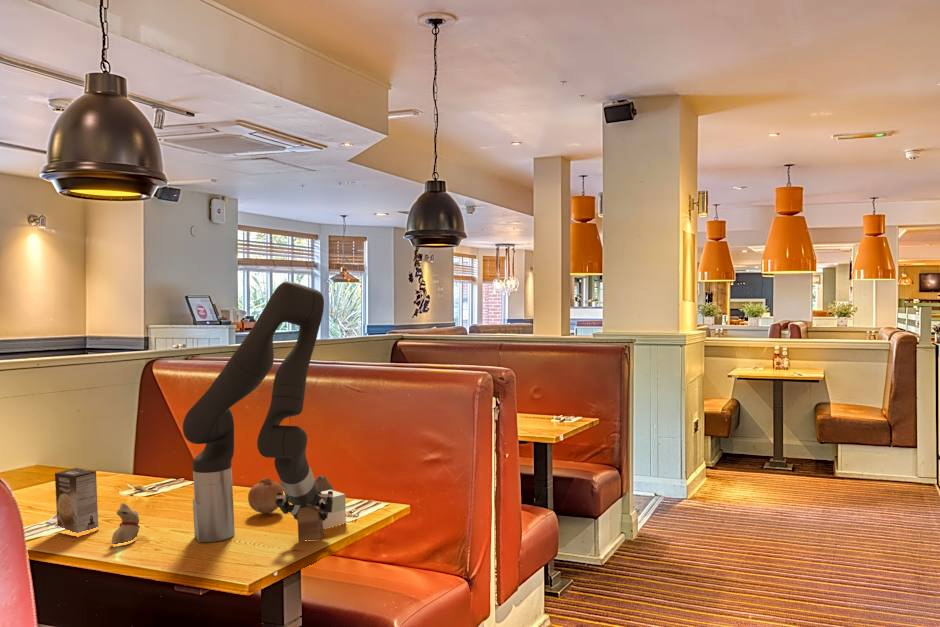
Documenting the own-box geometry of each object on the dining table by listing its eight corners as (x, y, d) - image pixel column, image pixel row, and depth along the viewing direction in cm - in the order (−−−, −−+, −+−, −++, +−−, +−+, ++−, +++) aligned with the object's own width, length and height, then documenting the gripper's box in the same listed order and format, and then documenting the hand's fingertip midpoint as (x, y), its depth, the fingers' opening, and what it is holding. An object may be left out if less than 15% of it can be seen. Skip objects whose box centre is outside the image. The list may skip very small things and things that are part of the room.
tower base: (323, 530, 200) (322, 515, 200) (308, 525, 205) (307, 510, 205) (346, 524, 205) (345, 509, 205) (331, 519, 210) (330, 504, 210)
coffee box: (56, 533, 206) (53, 472, 205) (79, 526, 211) (76, 467, 211) (77, 538, 201) (74, 475, 201) (100, 531, 207) (97, 470, 206)
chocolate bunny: (146, 540, 197) (144, 501, 196) (113, 548, 191) (111, 508, 191) (137, 536, 201) (135, 497, 200) (105, 544, 195) (103, 504, 195)
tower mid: (322, 515, 200) (321, 499, 200) (308, 510, 205) (307, 495, 205) (345, 509, 205) (345, 494, 204) (331, 504, 210) (330, 489, 210)
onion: (291, 512, 218) (289, 476, 218) (265, 521, 210) (263, 483, 210) (267, 507, 223) (266, 472, 223) (241, 516, 215) (239, 480, 215)
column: (318, 540, 191) (317, 500, 191) (298, 541, 191) (296, 500, 191) (323, 534, 196) (321, 494, 196) (303, 535, 196) (301, 495, 196)
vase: (329, 511, 217) (328, 479, 217) (306, 511, 218) (304, 479, 218) (338, 504, 224) (337, 474, 223) (316, 504, 225) (314, 473, 225)
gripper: (330, 466, 186) (342, 503, 198) (270, 468, 186) (285, 505, 198) (326, 495, 180) (339, 530, 193) (264, 496, 181) (280, 532, 193)
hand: (311, 517), depth 195 cm, fingers open, 5 cm apart
